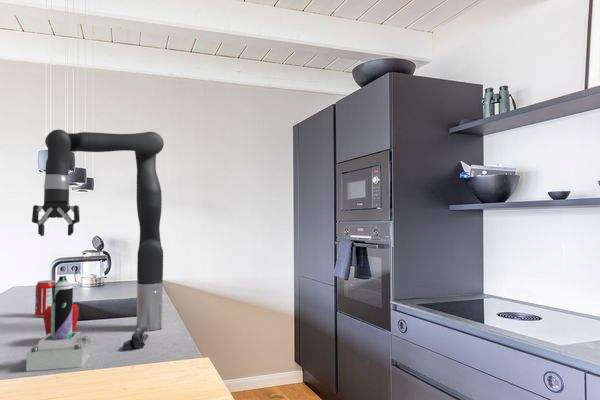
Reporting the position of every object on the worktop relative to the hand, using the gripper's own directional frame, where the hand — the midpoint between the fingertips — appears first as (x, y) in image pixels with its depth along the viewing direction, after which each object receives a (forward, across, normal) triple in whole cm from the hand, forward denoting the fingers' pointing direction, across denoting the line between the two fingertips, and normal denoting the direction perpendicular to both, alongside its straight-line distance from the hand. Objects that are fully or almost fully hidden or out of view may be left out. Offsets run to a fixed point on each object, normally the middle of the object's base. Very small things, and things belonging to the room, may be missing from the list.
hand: (55, 235), depth 152 cm
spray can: (+31, -8, +24) cm, 40 cm away
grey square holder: (+36, -8, +24) cm, 44 cm away
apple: (+36, -2, -1) cm, 36 cm away
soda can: (+36, +15, -47) cm, 61 cm away
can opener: (+37, -28, +9) cm, 47 cm away
